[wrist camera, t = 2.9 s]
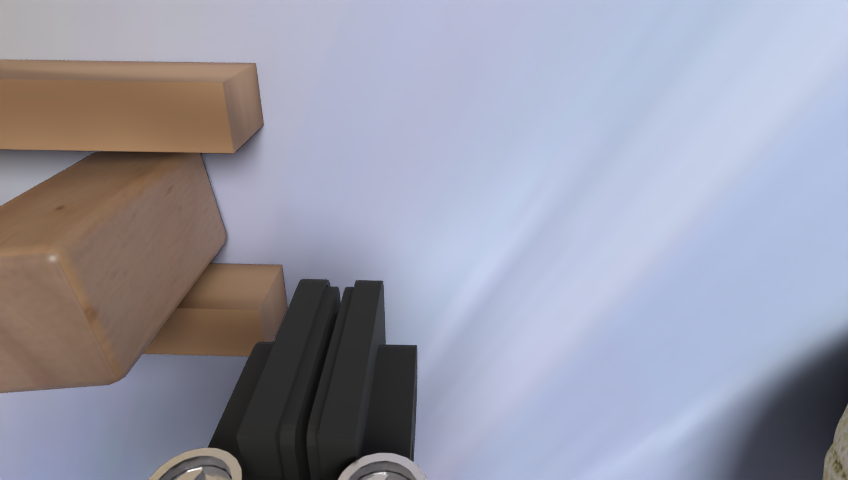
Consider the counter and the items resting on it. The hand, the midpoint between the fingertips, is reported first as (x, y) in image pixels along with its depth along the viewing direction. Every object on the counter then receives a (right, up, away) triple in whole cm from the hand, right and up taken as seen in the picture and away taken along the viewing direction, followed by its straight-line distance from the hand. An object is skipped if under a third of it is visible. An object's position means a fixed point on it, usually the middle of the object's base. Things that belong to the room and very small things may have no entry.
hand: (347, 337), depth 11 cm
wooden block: (-8, +4, +8) cm, 12 cm away
